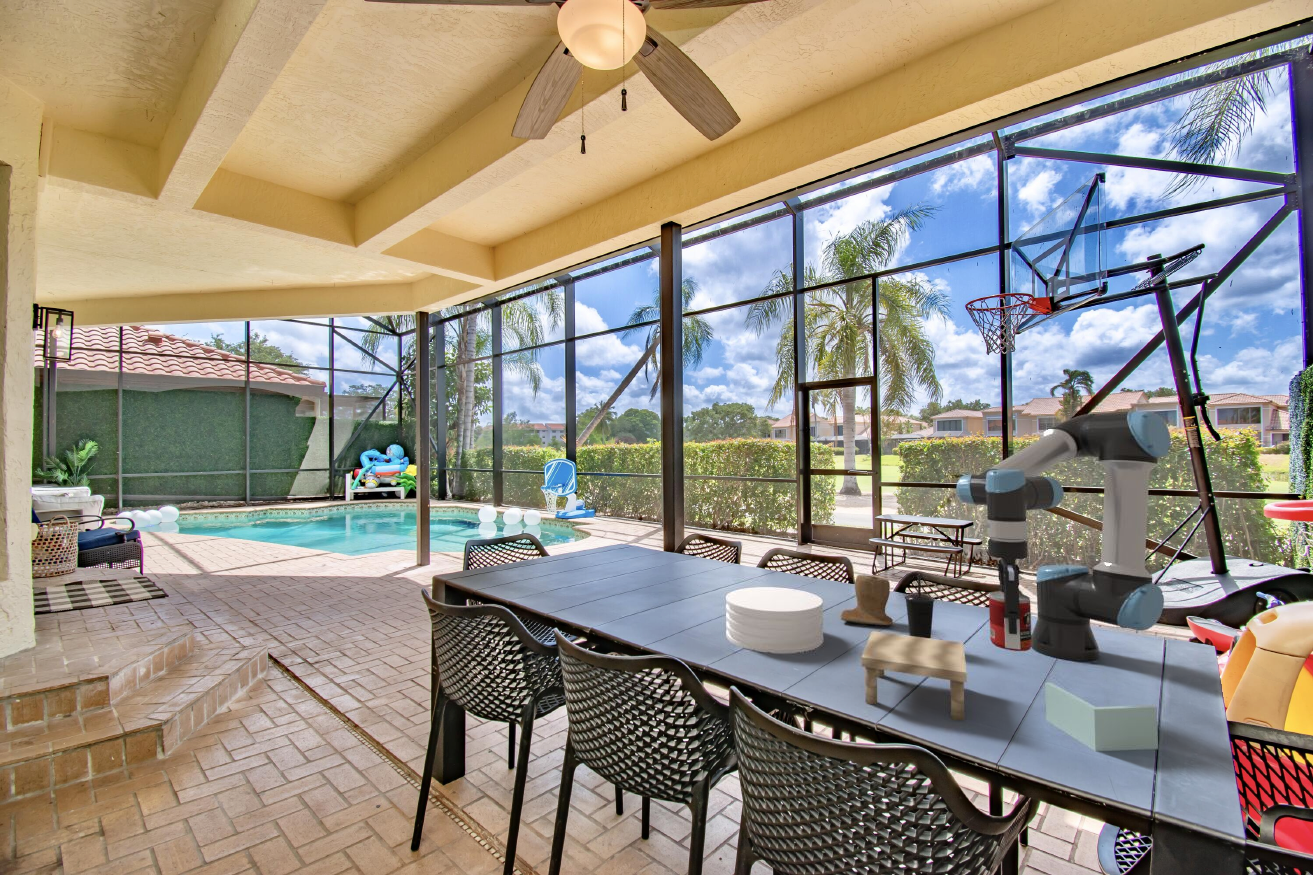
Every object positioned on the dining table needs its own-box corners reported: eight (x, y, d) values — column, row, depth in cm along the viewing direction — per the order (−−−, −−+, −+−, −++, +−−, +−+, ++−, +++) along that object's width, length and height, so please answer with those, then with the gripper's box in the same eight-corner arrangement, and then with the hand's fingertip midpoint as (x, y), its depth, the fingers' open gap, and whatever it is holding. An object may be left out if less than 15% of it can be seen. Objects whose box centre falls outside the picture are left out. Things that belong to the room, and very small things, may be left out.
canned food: (1019, 653, 121) (1017, 602, 121) (982, 642, 128) (980, 594, 128) (1039, 647, 125) (1037, 597, 125) (1003, 637, 132) (1001, 589, 132)
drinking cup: (929, 642, 162) (928, 571, 162) (940, 651, 154) (938, 577, 155) (901, 641, 163) (900, 571, 163) (910, 651, 155) (909, 577, 156)
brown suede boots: (893, 619, 184) (892, 573, 185) (892, 630, 173) (891, 580, 174) (844, 614, 190) (843, 569, 191) (840, 624, 179) (839, 576, 180)
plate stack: (834, 632, 172) (834, 594, 173) (805, 661, 149) (805, 616, 149) (748, 618, 187) (748, 583, 188) (710, 642, 164) (709, 602, 164)
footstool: (964, 686, 132) (963, 642, 132) (967, 723, 114) (966, 672, 114) (872, 671, 141) (871, 630, 141) (862, 703, 123) (861, 656, 123)
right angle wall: (1158, 748, 104) (1156, 707, 104) (1095, 751, 103) (1094, 709, 103) (1102, 718, 116) (1101, 680, 116) (1046, 719, 115) (1045, 682, 115)
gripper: (984, 531, 138) (987, 626, 137) (991, 545, 119) (994, 654, 119) (1021, 533, 134) (1024, 630, 134) (1033, 547, 116) (1037, 660, 115)
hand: (1010, 641), depth 126 cm, fingers closed on canned food, 8 cm apart
